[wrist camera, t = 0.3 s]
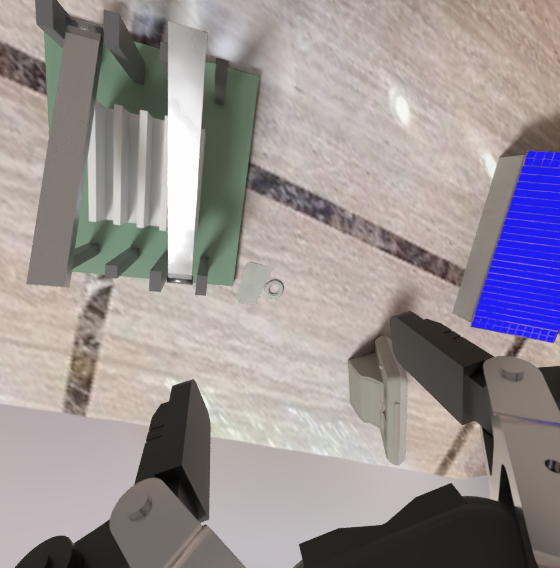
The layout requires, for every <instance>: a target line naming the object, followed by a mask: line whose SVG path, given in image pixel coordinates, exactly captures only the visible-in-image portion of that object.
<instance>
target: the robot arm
mask: <svg viewBox="0 0 560 568" xmlns="http://www.w3.org/2000/svg"><path fill="white" fill-rule="evenodd" d="M390 326H391V337H392V348H393V352H394V355H395V357H396V359H397V361H398V362H399V363H400V365H401V366H402V367H404V368H405V369H406V370H407V371H408V372H409V373H410V374H411V375H412V376H413V377H414V378H415V379H416V380H417V381H418V382H419V383H420V384H421V385H422V386H423V387H424V388H425V389H426V390H427V391H428V392H429V393H430V394H431V395H432V396H433V397H434V398H435V399H436V400H437V401H438V402H439V403H440V404H441V405H442V406H443V407H444V408H445V409H446V410H447V411H448V412H449V413H450V414H451V415H452V416H453V417H454V418H455V419H456V420H457V421H458V422H459V423H460V424H462V425H464V424H467V423H469V422H472V421H476V422H477V423H479V424H480V435H481V441H482V447H483V453H484V459H485V465H486V471H487V477H488V483H489V491H490V499H487V498H482V497H474V496H461V495H460V493H459V492H458V491H457V490H456V488H455V487H454V486H453V485H452V484H451V483H450V484H448V485H445V486H443V487H440V488H438V489H435V490H433V491H430V492H428V493H426V494H423V495H420V496H418V497H416V498H414V499H413V500H412V501H411V502H410V503H409V504H407V505H406V506H405V507H404V508H403V509H402V510H401V511H399V512H398V513H397V514H396V515H395V516H394V517H392V518H391V519H390V520H389V521H388V522H386V523H385V524H383V525H376V526H364V527H351V528H338V529H336V530H333V531H331V532H328V533H326V534H323V535H321V536H318V537H316V538H313V539H311V540H309V541H306V542H303V543H301V544H299V546H300V550H301V555H302V560H301V561H300V562H299V563H298V564H297V565H296V566H295V567H293V568H560V366H553V367H540V368H537V367H536V366H534V365H533V364H531V363H529V362H527V361H525V360H522V359H519V358H515V357H508V356H497V357H494V356H492V355H491V354H489V353H487V352H486V351H484V350H483V349H481V348H479V347H478V346H476V345H475V344H473V343H471V342H470V341H468V340H467V339H465V338H463V337H461V336H460V335H459V334H457V333H455V332H454V331H453V332H452V331H451V329H449V328H447V327H446V326H444V325H443V324H441V323H438V322H435V321H432V320H429V319H425V320H423V319H422V318H420V317H419V316H417V315H416V314H414V313H413V312H411V311H408V312H405V313H402V314H399V315H396V316H393V317H391V319H390ZM210 429H211V428H210V419H209V414H208V411H207V408H206V406H205V403H204V401H203V398H202V396H201V394H200V391H199V389H198V386H197V384H196V382H195V380H193V379H192V380H189V381H186V382H183V383H180V384H177V385H174V386H173V387H172V390H171V395H170V400H169V402H166V403H163V404H161V405H160V406H159V408H158V409H157V411H156V412H155V414H154V415H153V417H152V420H151V424H150V428H149V432H148V435H147V439H146V443H145V447H144V450H143V454H142V458H141V462H140V465H139V469H138V473H137V476H136V481H135V484H134V486H133V487H131V488H130V489H129V490H128V491H127V492H126V493H125V494H124V495H123V496H122V497H121V498H120V499H119V501H118V502H117V504H116V505H115V507H114V509H113V511H112V514H111V517H110V520H108V521H107V522H105V523H104V524H103V525H101V526H100V527H98V528H97V529H95V530H94V531H92V532H91V533H89V534H88V535H86V536H85V537H83V538H81V539H80V540H78V541H77V542H75V543H74V544H73V543H72V541H71V540H70V539H69V538H68V537H66V536H56V537H52V538H50V539H48V540H46V541H44V542H42V543H41V544H39V545H38V546H37V547H35V548H34V549H33V550H32V551H30V552H29V553H28V554H27V555H26V556H25V557H24V558H23V559H22V560H21V561H20V563H18V564H17V566H16V567H15V568H246V567H245V566H244V565H243V564H242V563H241V562H240V561H239V559H238V558H237V557H236V556H235V555H234V554H233V553H232V552H231V551H230V549H229V548H228V547H227V546H226V545H225V544H224V543H223V542H222V541H221V539H219V537H218V536H217V535H216V534H215V533H214V532H213V531H212V530H211V529H210V528H209V527H208V526H207V525H204V526H202V525H201V524H200V523H201V522H204V521H206V520H209V487H210V486H209V485H210Z"/></svg>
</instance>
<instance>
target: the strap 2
mask: <svg viewBox="0 0 560 568" xmlns="http://www.w3.org/2000/svg"><path fill="white" fill-rule="evenodd" d="M207 36H208V33H207V32H203V31H200V30H197V29H193V28H190V27H187V26H183V25H180V24H177V23H174V22H170V21H168V275H167V283H177V284H188V285H192V284H193V276H192V271H193V256H194V240H195V225H196V209H197V193H198V177H199V162H200V146H201V130H202V114H203V99H204V83H205V67H206V51H207Z"/></svg>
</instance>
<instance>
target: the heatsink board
mask: <svg viewBox="0 0 560 568" xmlns="http://www.w3.org/2000/svg"><path fill="white" fill-rule="evenodd" d="M35 4H36V22H37V25H38V26H39V27H40V28H41V29H42V30H43V31H44V39H45V59H46V80H47V100H48V121H49V136H50V129H51V123H52V116H53V110H54V104H55V97H56V91H57V84H58V78H59V71H60V65H61V58H62V52H63V45H64V39H65V33H66V31H67V27H66V16H68V17H70V16H69V14H68V13H67V12H66V11H65V10H64V8H63V7H62V6H61V5H60V4H59V2H58V1H57V0H35ZM228 66H229V61H226V60H223V59H219V58H216V64H213V63H210V62H206V67H205V83H204V99H203V114H202V130H201V146H200V162H199V177H198V193H197V209H196V225H195V240H194V256H193V271H192V276H193V283H196V292H195V295H205V296H206V288H207V284H215V285H226V286H233V282H234V274H235V266H236V258H237V250H238V242H239V234H240V226H241V218H242V210H243V202H244V194H245V186H246V178H247V170H248V162H249V154H250V146H251V138H252V130H253V122H254V114H255V106H256V98H257V90H258V82H259V76H257V75H253V74H250V73H246V72H242V71H239V70H235V69H232V68H228ZM72 272H83V273H94V274H105V277H107V278H118V277H119V276H127V277H138V278H149V279H150V283H149V291H156V292H161V290H162V288H163V286H164V284H165V282H166V280H167V275H168V44H166V43H163V42H160V49H159V48H156V47H152V46H149V45H145V44H141V43H138V42H134V41H133V39H132V37H131V35H130V33H129V32H128V30H127V28H126V26H125V24H124V22H123V20H122V19H121V17H120V15H119V14H117V13H113V12H110V11H107V10H104V42H103V53H102V60H101V67H100V74H99V81H98V88H97V95H96V103H95V110H94V117H93V124H92V131H91V138H90V145H89V152H88V159H87V167H86V174H85V181H84V188H83V195H82V202H81V209H80V216H79V223H78V231H77V238H76V245H75V252H74V259H73V266H72Z"/></svg>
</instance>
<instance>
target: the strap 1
mask: <svg viewBox="0 0 560 568" xmlns="http://www.w3.org/2000/svg"><path fill="white" fill-rule="evenodd" d="M66 27H67V31H66V33H65V39H64V45H63V52H62V58H61V65H60V71H59V78H58V84H57V91H56V97H55V104H54V110H53V116H52V123H51V129H50V136H49V142H48V149H47V155H46V162H45V168H44V174H43V181H42V187H41V194H40V200H39V207H38V213H37V220H36V226H35V233H34V239H33V245H32V252H31V258H30V265H29V271H28V278H27V284H31V285H43V286H56V287H70V280H71V273H72V266H73V259H74V252H75V245H76V238H77V231H78V223H79V216H80V209H81V202H82V195H83V188H84V181H85V174H86V167H87V159H88V152H89V145H90V138H91V131H92V124H93V117H94V110H95V103H96V95H97V88H98V81H99V74H100V67H101V60H102V53H103V42H104V27H103V26H100V25H96V24H93V23H89V22H86V21H82V20H79V19H75V18H72V17H68V16H66Z"/></svg>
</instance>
